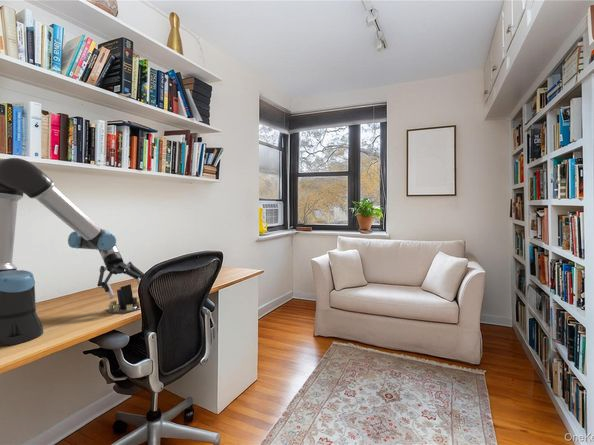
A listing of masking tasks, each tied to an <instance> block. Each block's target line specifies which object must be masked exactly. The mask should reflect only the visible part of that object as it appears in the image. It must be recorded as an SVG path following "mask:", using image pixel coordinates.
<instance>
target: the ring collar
mask: <svg viewBox="0 0 594 445" xmlns="http://www.w3.org/2000/svg"><path fill="white" fill-rule="evenodd" d="M133 301H134V307H133V304H128V305H126V310H124V307H123V308H120V305H119V303H117V302H118V300H117V299H115V300H114V299H113V300H112V301H110V303H108V304H107V305H108V307H107V312H108V313H109V314H114V315H115V314H116V315H117V314H128V313H133V312H137V311H139V310H141V309H140V303H139V296H133Z"/></svg>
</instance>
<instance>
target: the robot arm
mask: <svg viewBox="0 0 594 445" xmlns="http://www.w3.org/2000/svg"><path fill="white" fill-rule="evenodd" d="M54 183H55V181H54V180H52V179H51V178H50V177H49V176H48V175H47V174H46V173H44V172H43V171H42V170H41V169H40V168H38V167H37V166H36V165H35V164H33V163H32V162H29V161H28V160H26V159H23V158H19V157H8V158H4V159H0V347H6V346H7V347H8V346H14V345H17V344H20V343H21V344H22V343H25V342H29V341H32V340H34V339H36V338H38V337H40V336H42V335H43V333H44V326H43V324H42V322H41V320H40V318H39V315H38V314H37V308H36V306H37V305H36V303H37V302H36V281H35V277H34V273H32V272H31V271H28V270H24V269H20V270H19V269H17V268H18V267H17V266H16V265H14V264H13V256H14V255H13V254H14V244H15V235H16V234H15V233H16V223H17V222H16V221H17V211H18V210H17V209H18V201H19V200H21V199H22V198H24V194H25V195H26V196H27V197H29V198H30V199H36V200H37V202H39V203H40V204H41V205H43V207H45V208H46V209H48V210H49V211H50V212H51V213H52V214H54V216H56V217H57V218H58V219H60V221H61V222H63V223H64V224H66V225H67V226H68V228H70V229H71V230H73V231H72V232H70V234H69V235H68V238H67V244H68V246H69V247H70V248H73V249H83V250H96V251H97V250H98V252H99V254H100V256H101V258H102V260H103V264H104V265H105V266H104V265H101V266H100V267H99V277H98V281H97V287H101V288H102V289H103V290H104V292H105V293H108V297H109V299H110V300H112V299H113V298H114V296H115V293H114V291H113V289H112V287H111V283H109V280H110V279H111V277H112V275H119V274H120V275H121V274H124V275H127V276H129V277H130V278H133V279H135V280H136V283H137V285H138V287H139V283H140V280H141V278H142V277H143V276H144V277H145V275H144V274H145V273H144V272H143V271H142V270H140V269H139V268H138V267H136V266H135V265H134V264H133V262H131V261H128V263H125V262H124V259H123V257H122V254H121V253H120V251H119V249H118V246H117V239H116V236H115V234H113V233H111V232H110V230H107V229H103V228H101V227H100V226H99V225H98V224H97V223H95V222H94V221H93V220H92V219H91V218H90V217H89V216H88V215H87V214H86V213H85V212H83V211H82V210H81V209H80V208H79V207H78V206H77V205H76V204H74V203H73V201H71V200H70V199H69V198H68V197H67V196H65V194H64V193H63V192H62V191H61V190H59V189H58V188H57V187H56V186H55V184H54ZM106 271H108V272H109V273H108V274H107V276H106V277H105V279H104V281H103V278H104V275H105V272H106ZM144 277H143V278H144ZM143 278H142V279H143ZM113 300H114V299H113Z"/></svg>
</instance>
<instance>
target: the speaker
mask: <svg viewBox="0 0 594 445" xmlns="http://www.w3.org/2000/svg"><path fill="white" fill-rule="evenodd" d="M116 294H117V302H118V304H119V305H120V308H123V307H124V310H126V305H128V304H133V307H134V301H133V297H134V296H133V289H132V284H131V283H130V284H127V285H123V286H120V288H119V289H117V290H116Z"/></svg>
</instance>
